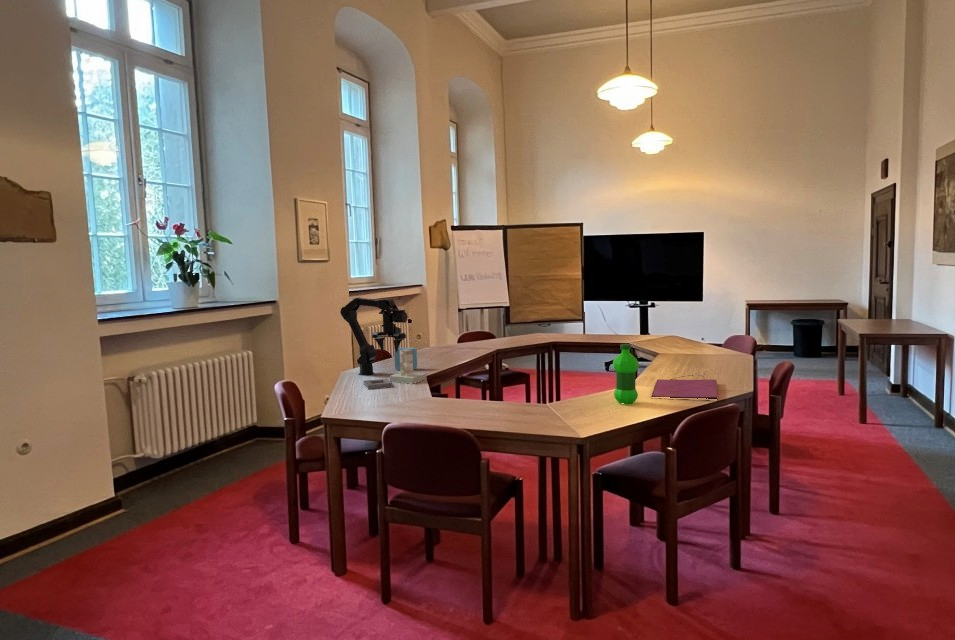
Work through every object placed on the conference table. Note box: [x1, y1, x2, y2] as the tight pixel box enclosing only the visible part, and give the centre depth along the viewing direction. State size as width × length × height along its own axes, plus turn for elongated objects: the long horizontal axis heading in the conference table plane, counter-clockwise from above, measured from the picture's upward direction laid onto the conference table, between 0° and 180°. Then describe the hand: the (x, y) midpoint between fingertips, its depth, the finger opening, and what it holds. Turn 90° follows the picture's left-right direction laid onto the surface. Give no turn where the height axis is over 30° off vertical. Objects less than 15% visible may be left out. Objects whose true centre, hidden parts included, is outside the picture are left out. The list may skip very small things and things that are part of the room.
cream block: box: [399, 349, 414, 376], centre depth 337 cm, size 4×4×13 cm
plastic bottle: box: [612, 343, 640, 405], centre depth 277 cm, size 10×10×25 cm
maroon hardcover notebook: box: [650, 374, 719, 400], centre depth 300 cm, size 40×4×27 cm
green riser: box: [389, 372, 427, 384], centre depth 339 cm, size 14×12×3 cm
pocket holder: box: [363, 378, 393, 390], centre depth 328 cm, size 12×12×2 cm
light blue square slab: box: [393, 347, 418, 371], centre depth 370 cm, size 12×4×12 cm, turn 88°
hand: (389, 351), depth 352 cm, fingers open, 9 cm apart
